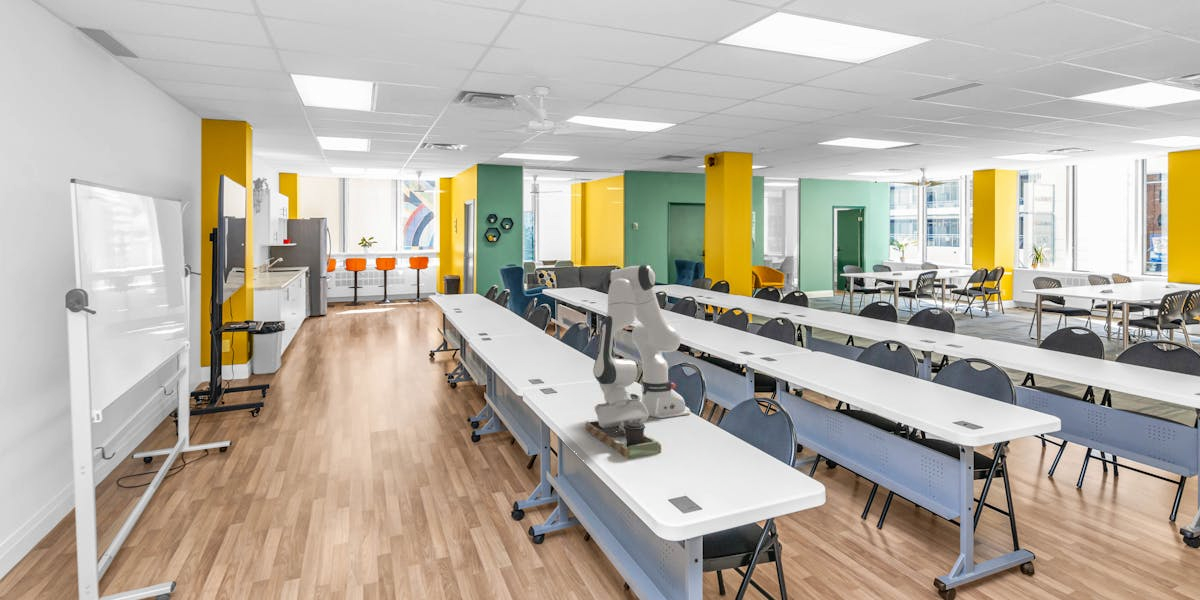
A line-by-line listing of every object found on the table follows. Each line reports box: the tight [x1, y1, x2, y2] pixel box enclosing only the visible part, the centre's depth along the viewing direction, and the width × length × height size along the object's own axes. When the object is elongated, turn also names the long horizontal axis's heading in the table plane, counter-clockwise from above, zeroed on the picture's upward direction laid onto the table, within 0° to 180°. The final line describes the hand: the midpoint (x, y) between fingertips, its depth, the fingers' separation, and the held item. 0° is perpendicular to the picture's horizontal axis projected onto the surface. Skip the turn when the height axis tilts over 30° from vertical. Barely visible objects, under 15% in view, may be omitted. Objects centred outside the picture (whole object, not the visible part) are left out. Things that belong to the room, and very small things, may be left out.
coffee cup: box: [624, 422, 646, 447], centre depth 233 cm, size 8×8×10 cm
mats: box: [599, 426, 626, 439], centre depth 253 cm, size 11×10×1 cm
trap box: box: [585, 420, 662, 459], centre depth 244 cm, size 36×14×4 cm, turn 25°
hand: (629, 433), depth 237 cm, fingers closed, pressing on coffee cup
